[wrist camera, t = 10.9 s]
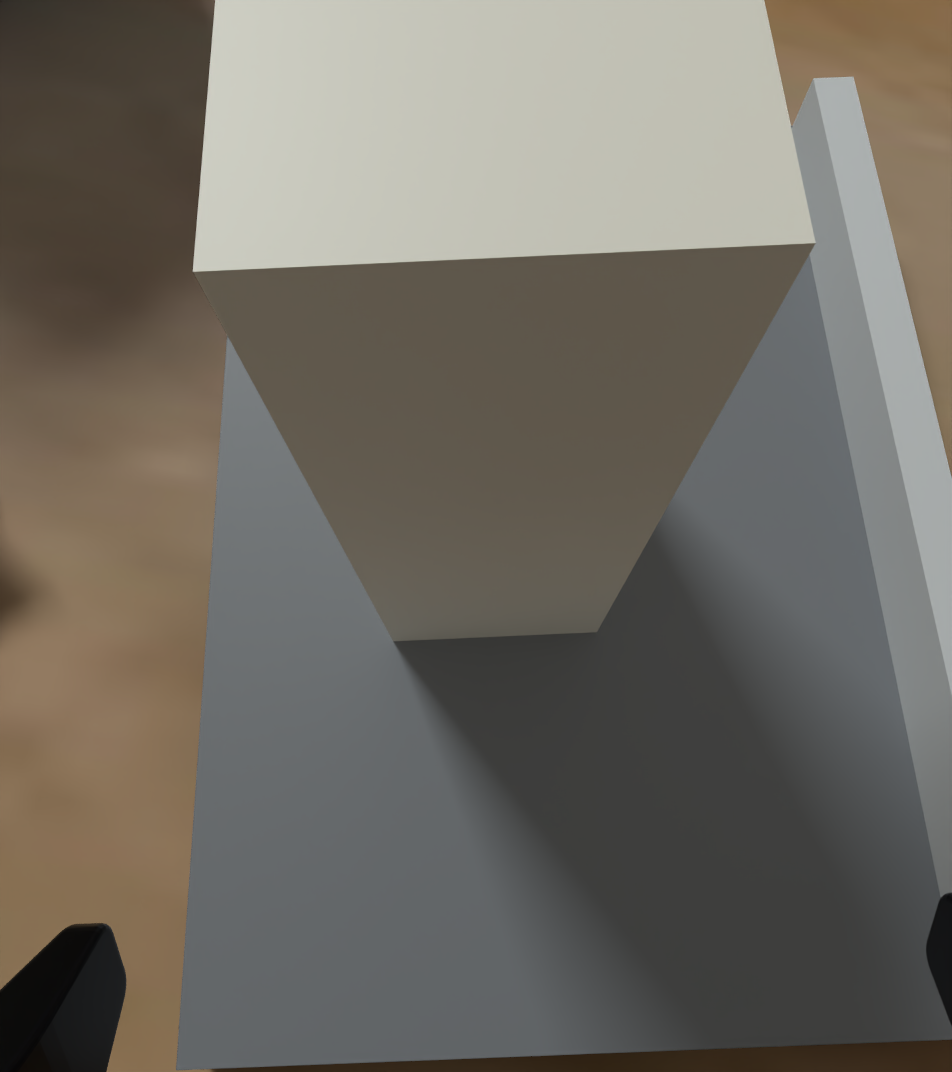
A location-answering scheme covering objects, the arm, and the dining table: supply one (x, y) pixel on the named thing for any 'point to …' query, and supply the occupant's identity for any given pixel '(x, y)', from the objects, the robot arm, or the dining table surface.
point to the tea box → (496, 275)
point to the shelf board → (603, 735)
